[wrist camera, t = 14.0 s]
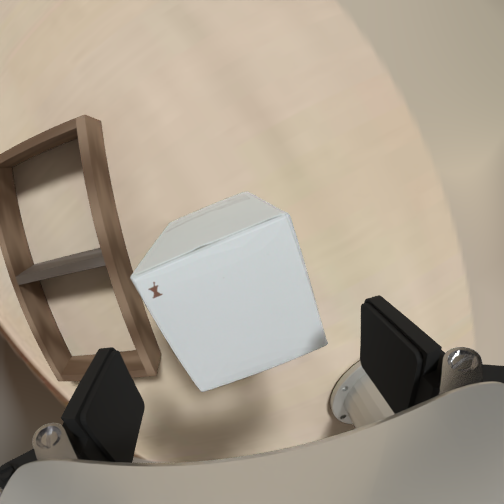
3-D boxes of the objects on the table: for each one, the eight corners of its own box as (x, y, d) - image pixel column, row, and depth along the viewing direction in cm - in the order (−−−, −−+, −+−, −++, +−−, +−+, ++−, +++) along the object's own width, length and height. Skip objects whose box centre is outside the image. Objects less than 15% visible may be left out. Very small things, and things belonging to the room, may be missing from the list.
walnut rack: (161, 353, 27) (156, 375, 23) (69, 362, 26) (58, 381, 23) (101, 120, 20) (84, 114, 17) (5, 162, 19) (-16, 163, 16)
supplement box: (201, 297, 26) (196, 397, 14) (167, 221, 23) (123, 274, 11) (279, 267, 26) (331, 348, 14) (250, 188, 24) (289, 208, 12)
